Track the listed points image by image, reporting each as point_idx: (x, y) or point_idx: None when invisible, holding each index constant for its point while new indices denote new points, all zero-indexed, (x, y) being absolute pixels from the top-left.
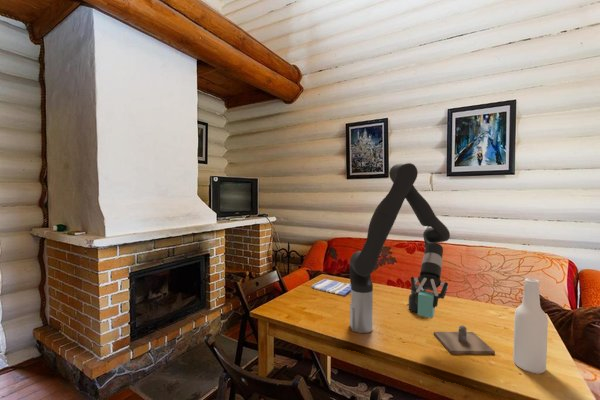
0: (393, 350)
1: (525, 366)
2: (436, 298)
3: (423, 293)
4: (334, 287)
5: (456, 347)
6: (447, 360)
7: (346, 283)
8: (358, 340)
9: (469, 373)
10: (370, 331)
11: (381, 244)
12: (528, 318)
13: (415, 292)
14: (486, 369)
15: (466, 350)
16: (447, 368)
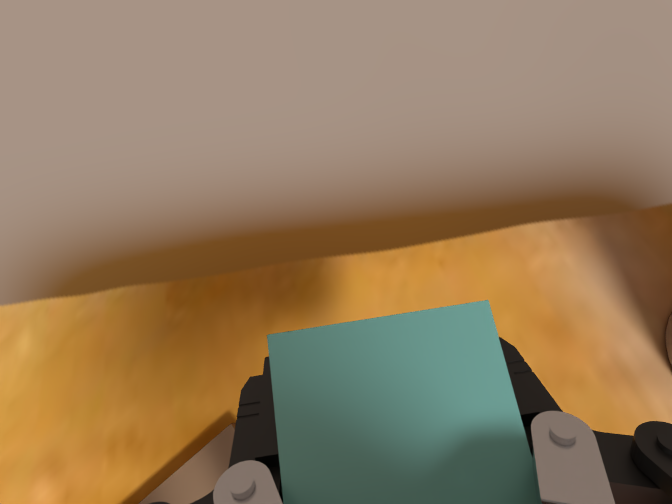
0: (467, 258)
1: None
2: (249, 450)
3: (442, 400)
4: None
5: (210, 489)
6: (239, 346)
7: None
8: (639, 227)
9: (143, 306)
10: (667, 346)
11: None
12: None
13: (582, 424)
14: (76, 393)
15: (157, 492)
16: (228, 280)
